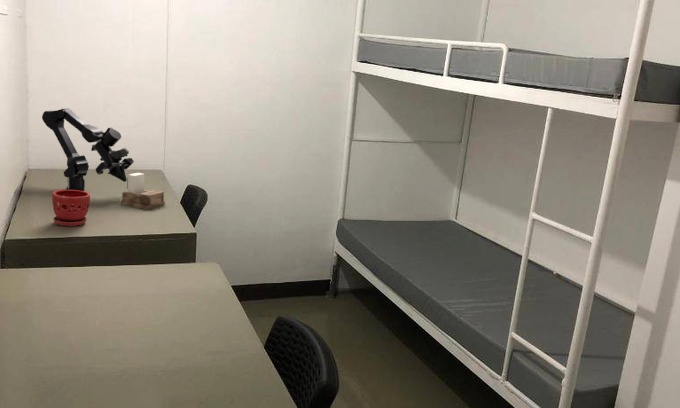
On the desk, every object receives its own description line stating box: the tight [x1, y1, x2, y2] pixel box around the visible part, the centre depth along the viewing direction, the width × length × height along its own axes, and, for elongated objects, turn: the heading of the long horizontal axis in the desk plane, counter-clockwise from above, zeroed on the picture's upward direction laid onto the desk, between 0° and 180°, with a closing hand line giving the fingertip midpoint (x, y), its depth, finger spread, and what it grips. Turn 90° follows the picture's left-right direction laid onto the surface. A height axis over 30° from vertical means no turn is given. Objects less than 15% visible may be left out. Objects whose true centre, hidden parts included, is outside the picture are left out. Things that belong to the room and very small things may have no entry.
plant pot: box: [51, 189, 91, 227], centre depth 237 cm, size 13×13×12 cm
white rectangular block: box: [126, 172, 145, 195], centre depth 274 cm, size 4×6×11 cm
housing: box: [120, 188, 166, 210], centre depth 274 cm, size 14×12×6 cm
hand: (125, 181), depth 276 cm, fingers closed
